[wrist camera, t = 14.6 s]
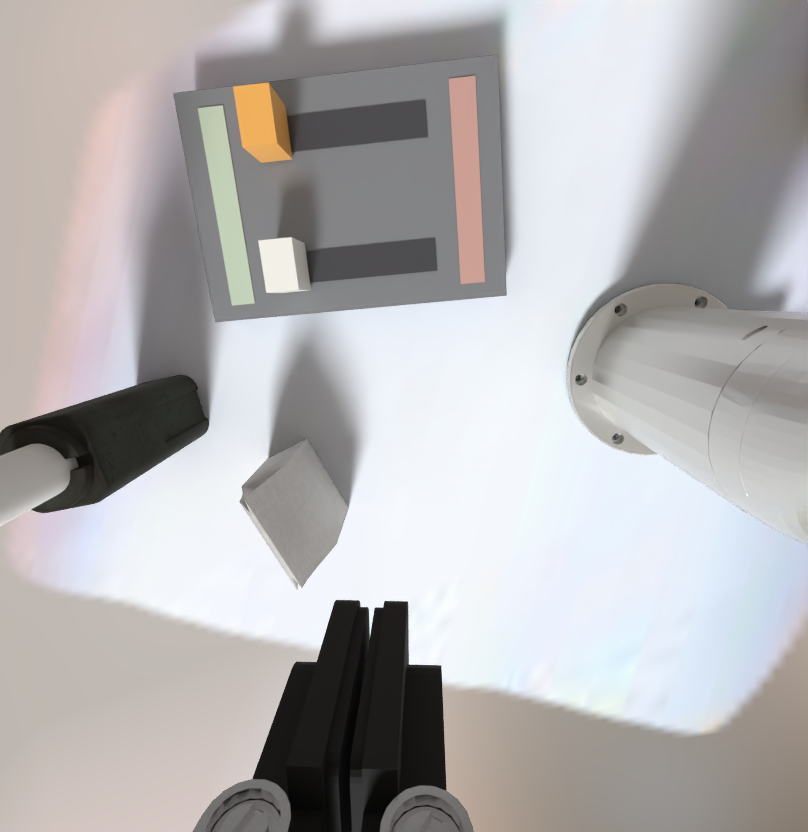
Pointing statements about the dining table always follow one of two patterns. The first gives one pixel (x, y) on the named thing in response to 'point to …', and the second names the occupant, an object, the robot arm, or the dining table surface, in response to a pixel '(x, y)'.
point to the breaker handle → (262, 122)
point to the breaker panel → (353, 192)
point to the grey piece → (295, 509)
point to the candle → (95, 446)
